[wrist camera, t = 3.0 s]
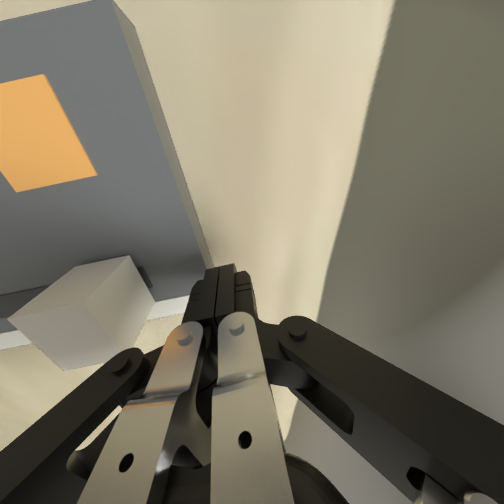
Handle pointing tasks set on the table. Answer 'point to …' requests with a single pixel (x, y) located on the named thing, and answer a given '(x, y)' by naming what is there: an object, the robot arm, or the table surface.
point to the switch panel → (88, 162)
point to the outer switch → (87, 313)
